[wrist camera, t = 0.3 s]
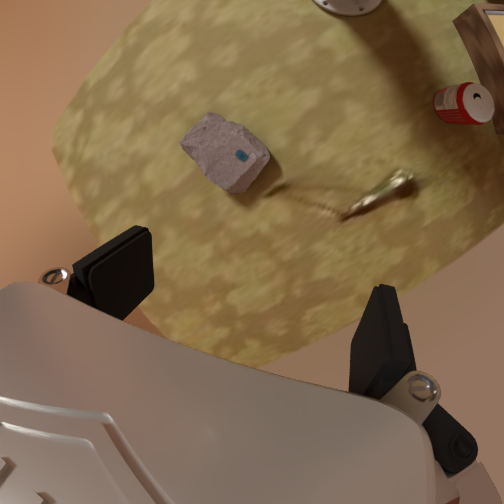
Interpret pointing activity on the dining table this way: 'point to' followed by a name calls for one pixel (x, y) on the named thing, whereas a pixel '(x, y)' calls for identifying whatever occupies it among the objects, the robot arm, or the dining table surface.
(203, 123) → the stone
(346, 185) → the dining table surface
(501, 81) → the open wooden box
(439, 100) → the soda can
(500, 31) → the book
